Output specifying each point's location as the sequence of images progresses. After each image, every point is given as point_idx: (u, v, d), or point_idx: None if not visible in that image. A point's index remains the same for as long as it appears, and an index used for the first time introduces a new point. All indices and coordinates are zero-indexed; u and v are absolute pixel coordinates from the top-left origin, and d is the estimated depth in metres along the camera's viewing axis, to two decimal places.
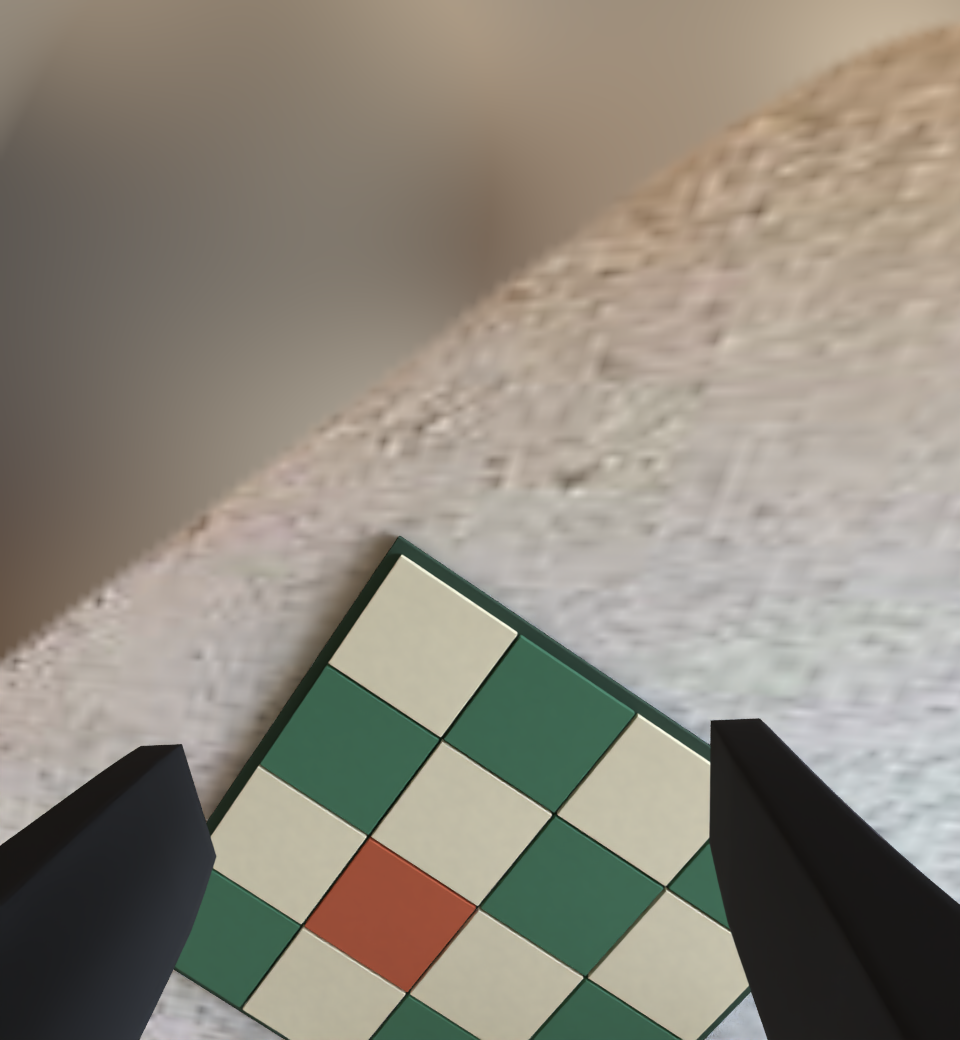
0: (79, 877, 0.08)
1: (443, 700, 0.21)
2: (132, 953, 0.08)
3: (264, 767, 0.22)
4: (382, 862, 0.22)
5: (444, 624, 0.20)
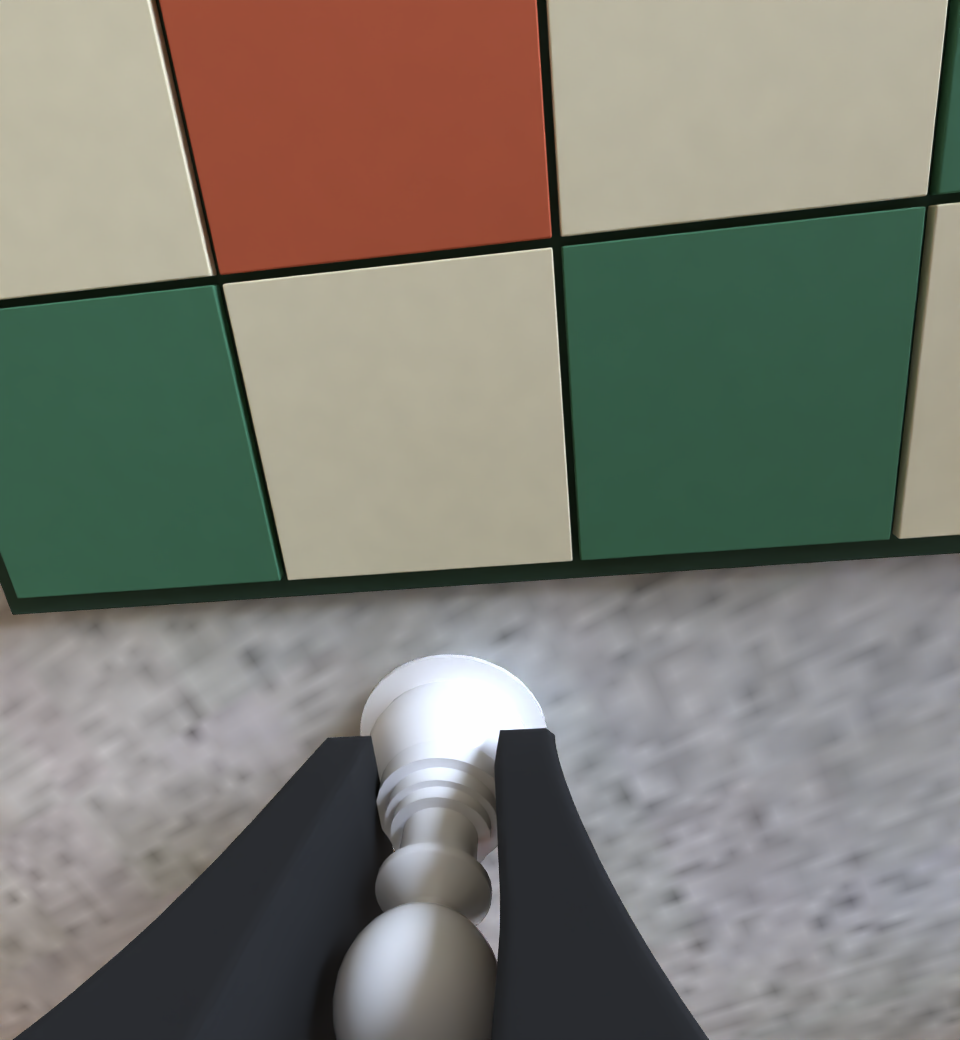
0: (317, 871, 0.07)
1: None
2: None
3: None
4: None
5: None
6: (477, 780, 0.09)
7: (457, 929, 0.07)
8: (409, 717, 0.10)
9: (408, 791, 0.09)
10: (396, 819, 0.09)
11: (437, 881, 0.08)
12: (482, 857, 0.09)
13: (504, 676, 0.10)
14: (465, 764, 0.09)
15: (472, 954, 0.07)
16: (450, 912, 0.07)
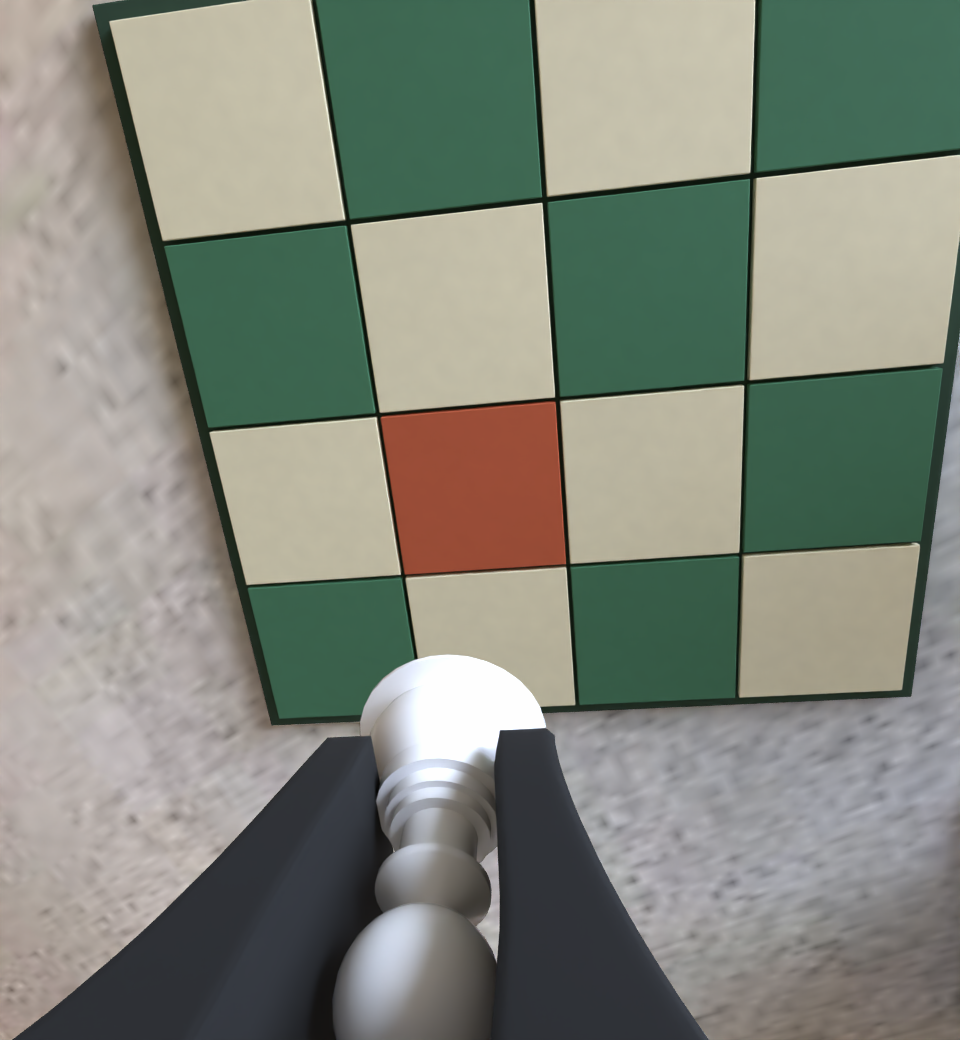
0: (316, 871, 0.07)
1: (307, 167, 0.14)
2: None
3: (218, 430, 0.17)
4: (415, 433, 0.16)
5: (225, 64, 0.14)
6: (476, 780, 0.09)
7: (456, 929, 0.07)
8: (409, 718, 0.10)
9: (408, 791, 0.09)
10: (396, 819, 0.09)
11: (437, 881, 0.08)
12: (482, 857, 0.09)
13: (503, 676, 0.10)
14: (465, 765, 0.09)
15: (472, 954, 0.07)
16: (450, 912, 0.07)
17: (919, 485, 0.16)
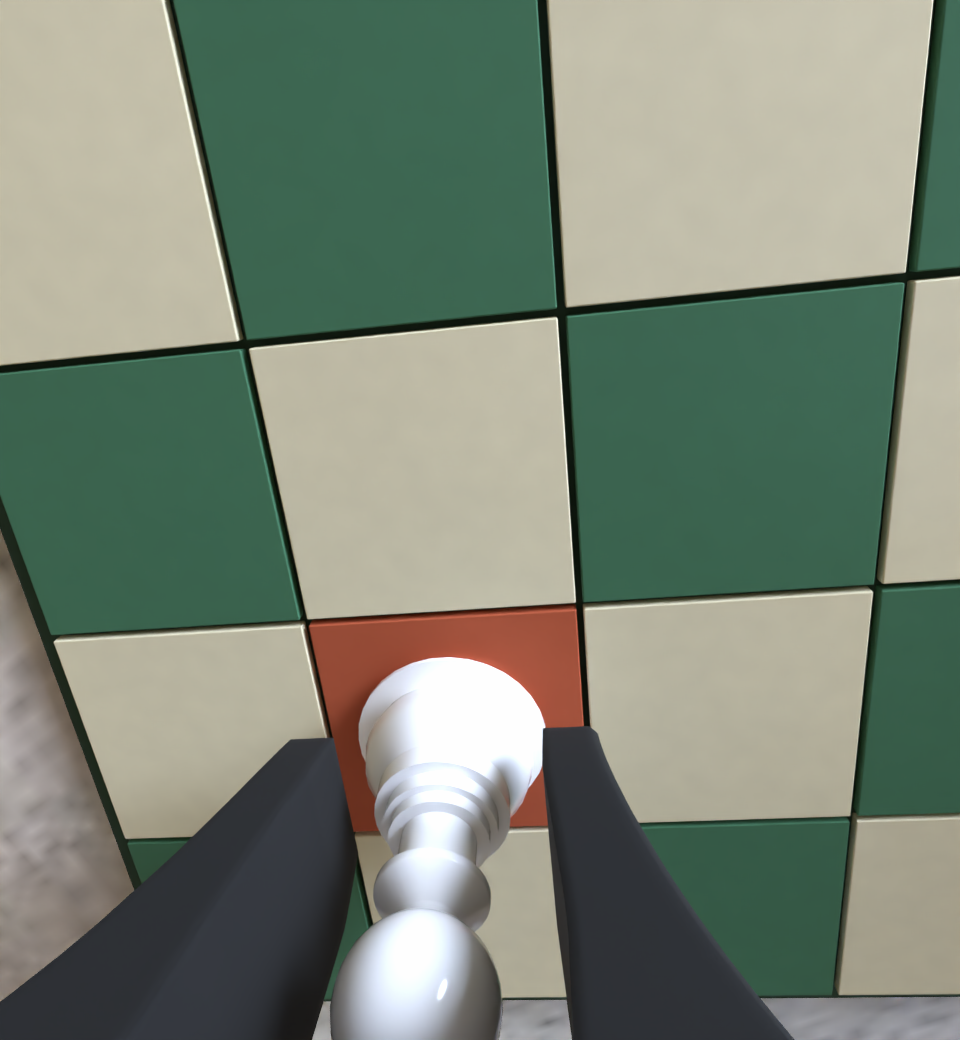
0: (269, 872, 0.07)
1: (174, 260, 0.09)
2: (305, 951, 0.08)
3: (68, 636, 0.11)
4: (363, 648, 0.11)
5: (27, 93, 0.08)
6: (476, 784, 0.09)
7: (456, 936, 0.07)
8: (407, 721, 0.10)
9: (406, 795, 0.09)
10: (395, 824, 0.09)
11: (436, 887, 0.08)
12: (481, 862, 0.09)
13: (503, 679, 0.10)
14: (465, 769, 0.09)
15: (471, 961, 0.07)
16: (449, 918, 0.07)
17: None
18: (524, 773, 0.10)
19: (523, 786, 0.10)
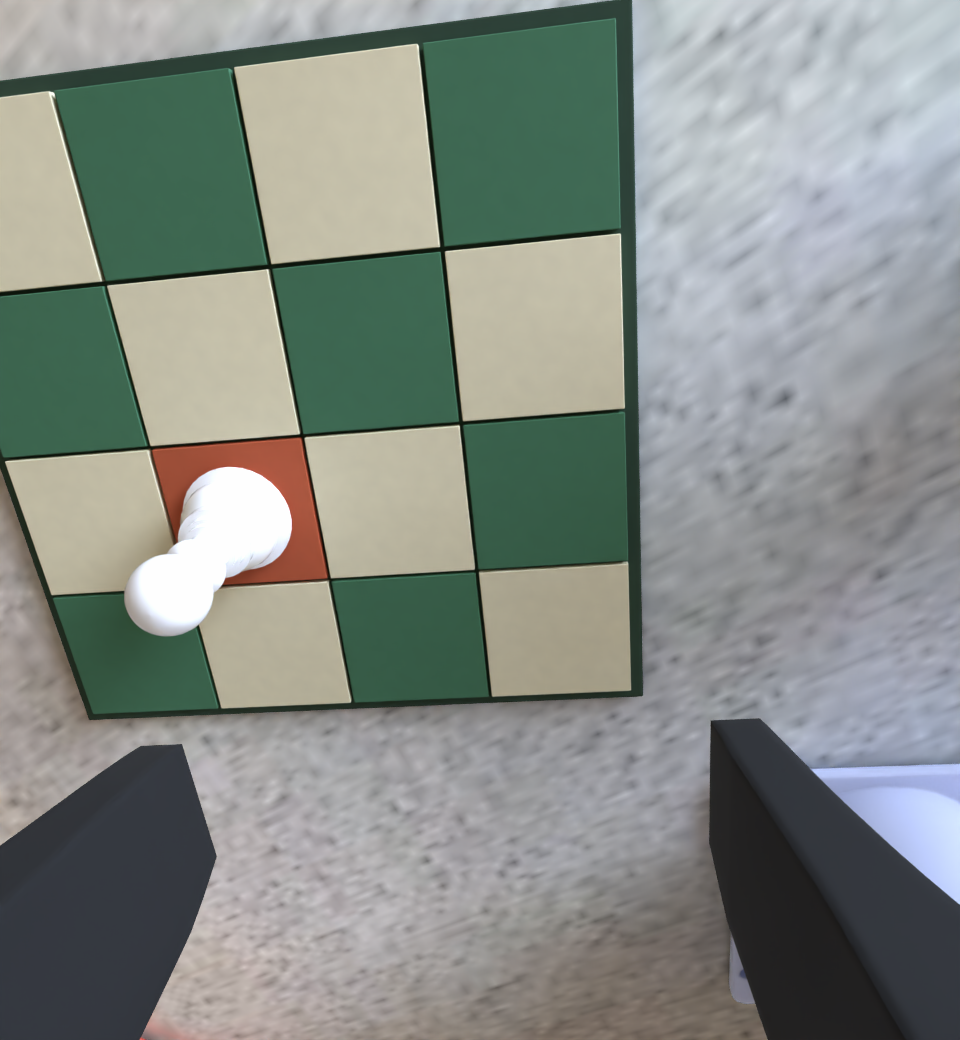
0: (79, 877, 0.08)
1: (64, 237, 0.16)
2: (132, 953, 0.08)
3: (14, 459, 0.19)
4: (183, 463, 0.18)
5: None
6: (230, 522, 0.17)
7: (187, 559, 0.15)
8: (199, 495, 0.17)
9: (190, 526, 0.17)
10: None
11: (191, 555, 0.16)
12: (232, 564, 0.17)
13: (260, 479, 0.18)
14: (223, 514, 0.17)
15: (191, 567, 0.15)
16: (187, 557, 0.15)
17: (619, 512, 0.18)
18: (267, 527, 0.18)
19: (266, 535, 0.18)
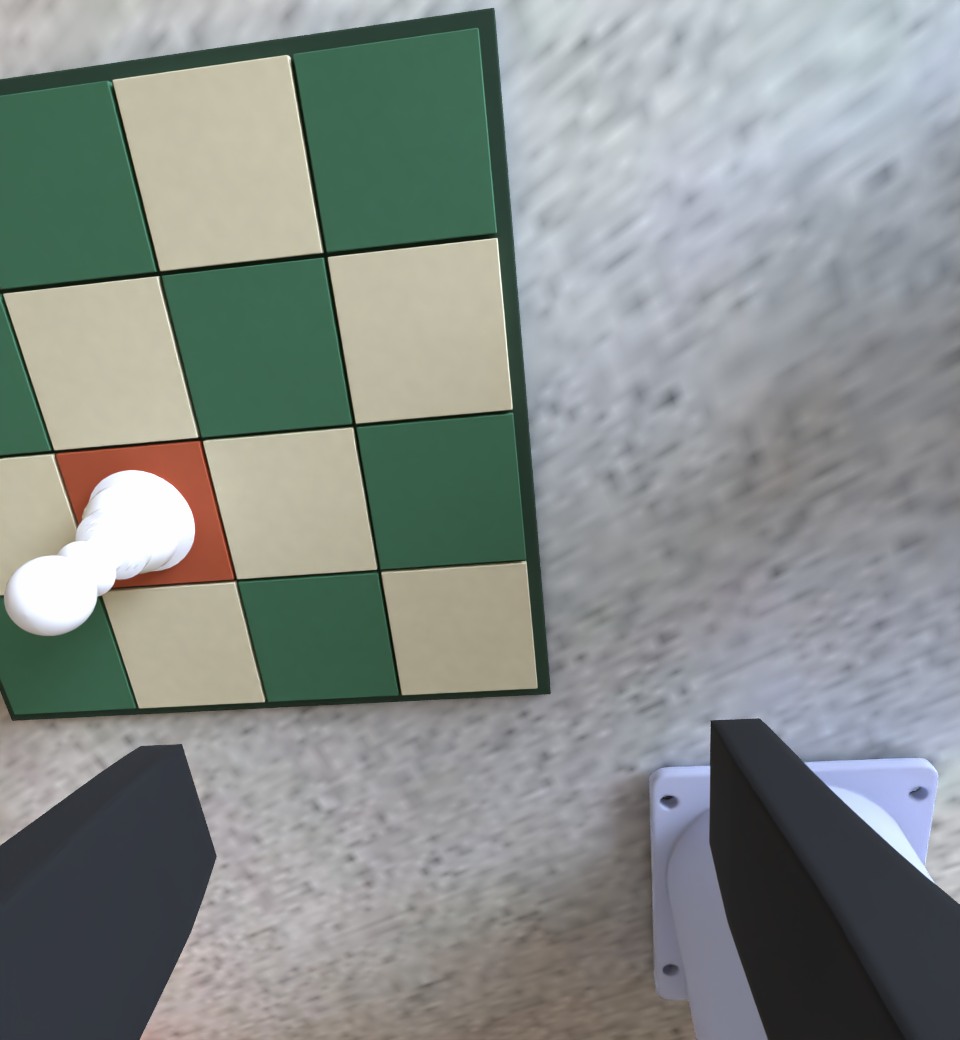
0: (79, 877, 0.08)
1: None
2: (132, 953, 0.08)
3: None
4: (87, 467, 0.19)
5: None
6: (125, 524, 0.17)
7: (68, 560, 0.15)
8: (97, 498, 0.18)
9: (86, 529, 0.17)
10: None
11: (79, 557, 0.16)
12: (126, 565, 0.17)
13: (161, 482, 0.18)
14: (117, 516, 0.17)
15: (70, 568, 0.15)
16: (70, 558, 0.15)
17: (514, 512, 0.18)
18: (165, 529, 0.18)
19: (165, 537, 0.18)
